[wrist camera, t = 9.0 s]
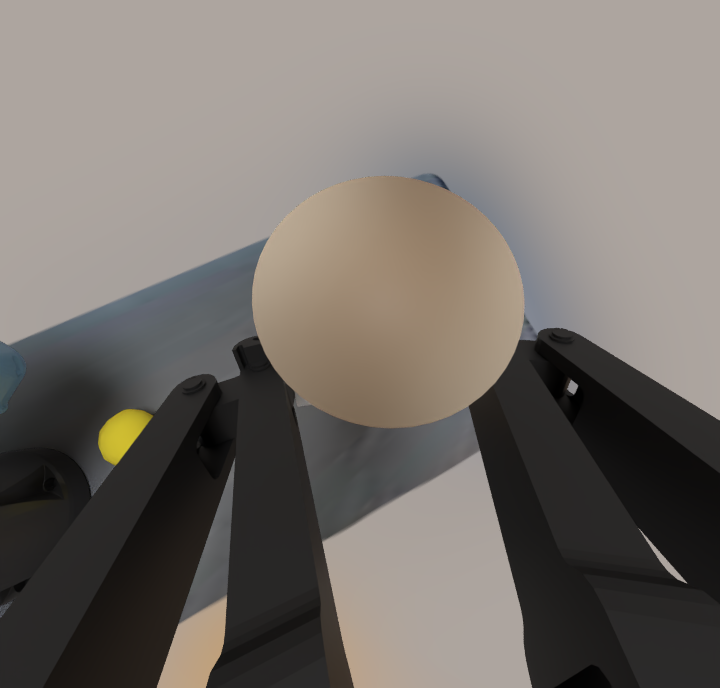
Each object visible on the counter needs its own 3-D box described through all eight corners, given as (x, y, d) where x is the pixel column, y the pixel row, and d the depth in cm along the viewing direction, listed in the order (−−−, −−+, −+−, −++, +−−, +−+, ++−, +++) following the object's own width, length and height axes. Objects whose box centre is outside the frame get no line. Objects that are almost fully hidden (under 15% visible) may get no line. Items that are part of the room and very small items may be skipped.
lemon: (123, 422, 33) (78, 419, 28) (165, 401, 34) (127, 395, 29) (135, 476, 31) (88, 485, 26) (179, 453, 32) (142, 457, 27)
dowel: (326, 408, 18) (221, 406, 4) (337, 338, 19) (281, 163, 6) (399, 418, 18) (527, 448, 4) (406, 346, 19) (522, 189, 5)
